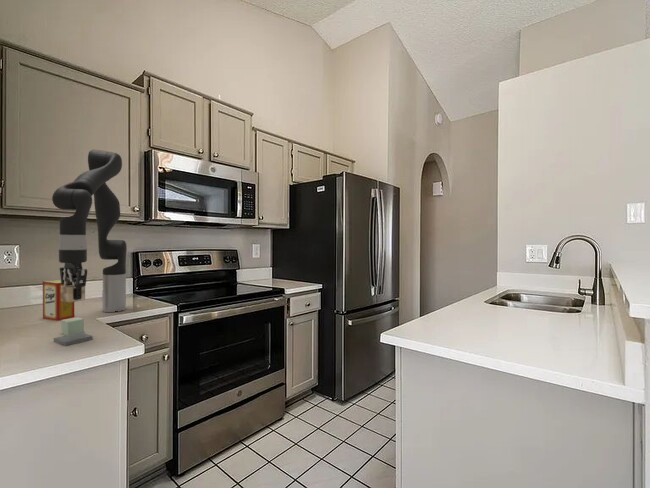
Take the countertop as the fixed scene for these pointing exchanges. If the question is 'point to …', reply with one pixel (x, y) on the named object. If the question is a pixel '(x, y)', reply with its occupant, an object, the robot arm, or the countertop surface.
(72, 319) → the sage block
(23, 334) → the countertop surface
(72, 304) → the baking soda box
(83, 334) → the base plate
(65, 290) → the oak block
